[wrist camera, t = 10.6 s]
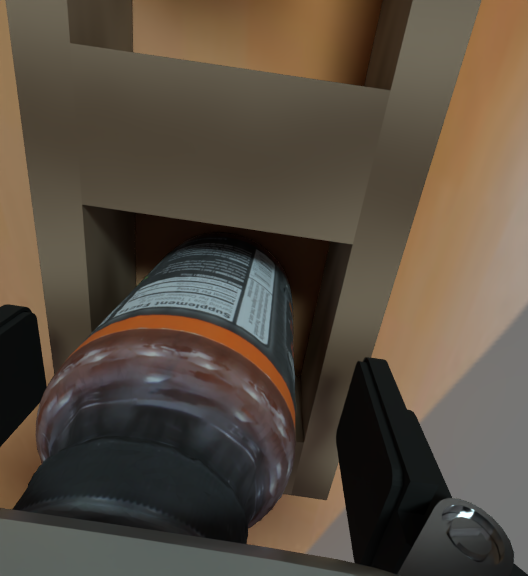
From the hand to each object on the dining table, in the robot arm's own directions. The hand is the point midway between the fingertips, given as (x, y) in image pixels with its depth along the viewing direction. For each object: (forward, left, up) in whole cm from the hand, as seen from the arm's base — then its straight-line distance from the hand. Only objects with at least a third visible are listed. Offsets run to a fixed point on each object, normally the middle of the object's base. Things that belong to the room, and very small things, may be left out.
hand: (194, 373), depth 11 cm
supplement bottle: (0, 0, -6) cm, 6 cm away
